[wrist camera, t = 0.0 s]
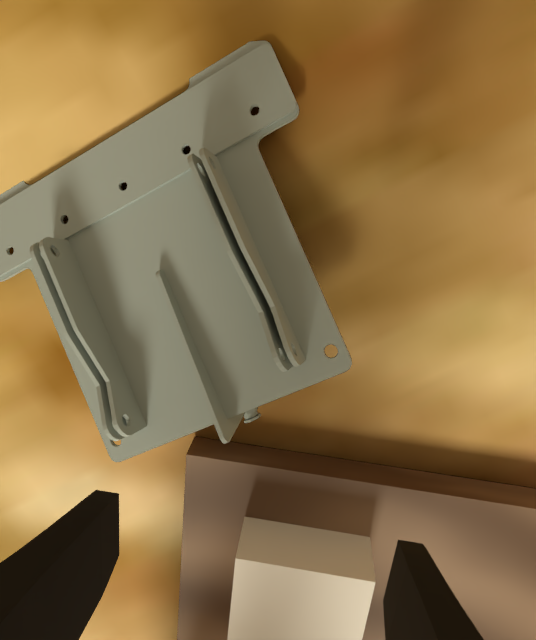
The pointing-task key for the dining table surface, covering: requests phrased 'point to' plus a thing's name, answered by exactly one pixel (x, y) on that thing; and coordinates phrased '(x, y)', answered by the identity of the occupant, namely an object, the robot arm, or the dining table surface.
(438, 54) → the dining table surface
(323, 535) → the cream rectangular block
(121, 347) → the metal bracket
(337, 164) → the dining table surface
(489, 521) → the bench board
